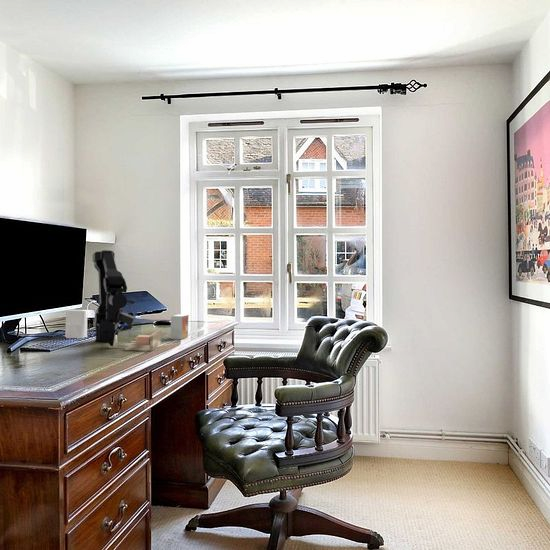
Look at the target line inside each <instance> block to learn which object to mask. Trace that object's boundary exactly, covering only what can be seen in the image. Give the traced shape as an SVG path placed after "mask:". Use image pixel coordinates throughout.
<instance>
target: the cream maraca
mask: <svg viewBox="0 0 550 550" xmlns="http://www.w3.org/2000/svg"><path fill="white" fill-rule="evenodd" d="M150 335H151V334H138V335H137V336H136V337H135V338H136V343H131V342H118V337H117V335H115V338H114V344H113V346H110V344H109V343H108V349H117V348H118V346H126V344H127V345H150Z"/></svg>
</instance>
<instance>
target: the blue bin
mask: <svg viewBox="0 0 550 550" xmlns="http://www.w3.org/2000/svg"><path fill="white" fill-rule="evenodd" d="M130 312H131V311H130ZM130 312H129V311H128V312H126V313H127V314H129V313H130ZM132 312H133V313H134V315H135V317H137V314H138V312H137V311H132ZM119 325H120V326H124V327H123V328H122V329H121V330H120V331H122V330H123V331H124V330H130V329H132V328H133V325H127V324H126V325H123V324H119Z"/></svg>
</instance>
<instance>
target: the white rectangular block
mask: <svg viewBox="0 0 550 550" xmlns="http://www.w3.org/2000/svg"><path fill="white" fill-rule="evenodd" d="M64 334H65V335H64V336H65V337H66V338H65V339H71V338H78V339H85V338H84V337H86V338H88V309H66V310H65V332H64Z"/></svg>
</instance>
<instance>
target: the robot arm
mask: <svg viewBox="0 0 550 550" xmlns="http://www.w3.org/2000/svg"><path fill="white" fill-rule="evenodd" d="M115 260H116V259H115V252H114V250H109V249H105V250H104V249H103V250H100V251H94V253H93V254H92V262H93V267H94V269H95V270H96V271H97V274H98V291H99V292H98V295H99V296H98V297H99V305H98V307H97V309H96V311H95V314H94V317H93V322H92V323H93V328H95V340H94V342H95V343H108V345H109V344H110V346H113V344H114V338H115V335H117V338H118V337H119V334H120V331H122V330H121V329H122V328H123V327H124V326H120V325H119V324H123V325H126V324H127V325H132V326H133V325H134V323H135V321H136V317H137V316H136V317H135V315H134V313H133V312H134V311H130V313H129V314H127V313H128V312H124V308H125V307H126V306H127V303H128V297H126V296H125V294H123V293H127V290H128V286H127V281H126V279H125V277H124V275H123V273H122V272H120V271H119V270H118V268H117V264H116V261H115Z"/></svg>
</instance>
